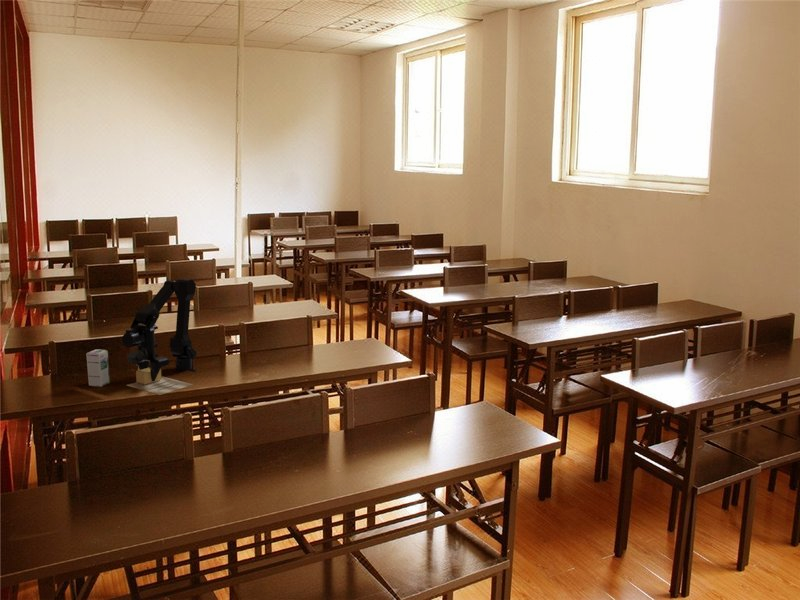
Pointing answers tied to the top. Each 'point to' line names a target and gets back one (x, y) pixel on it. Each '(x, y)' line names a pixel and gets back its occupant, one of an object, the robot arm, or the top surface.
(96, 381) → the syrup box
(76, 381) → the top surface
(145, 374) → the sanding block
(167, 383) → the grey patterned flat panel
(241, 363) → the top surface
